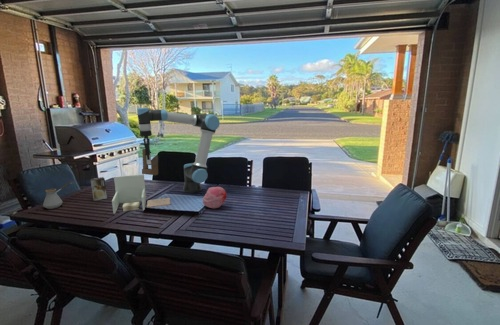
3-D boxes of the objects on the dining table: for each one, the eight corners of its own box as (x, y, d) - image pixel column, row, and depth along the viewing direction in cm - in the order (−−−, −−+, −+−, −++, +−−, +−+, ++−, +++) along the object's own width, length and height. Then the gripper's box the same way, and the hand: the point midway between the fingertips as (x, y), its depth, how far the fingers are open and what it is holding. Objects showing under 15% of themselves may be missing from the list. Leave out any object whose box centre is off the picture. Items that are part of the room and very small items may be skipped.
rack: (146, 199, 206) (143, 174, 202) (145, 209, 186) (142, 181, 182) (117, 203, 200) (114, 176, 196) (112, 213, 179) (109, 184, 175)
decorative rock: (233, 197, 192) (222, 179, 193) (229, 201, 178) (216, 182, 179) (212, 210, 196) (201, 193, 196) (206, 216, 182) (194, 197, 182)
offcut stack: (140, 206, 194) (139, 201, 193) (140, 209, 187) (139, 204, 186) (123, 208, 190) (122, 203, 189) (122, 212, 183) (122, 207, 182)
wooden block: (155, 175, 191) (155, 150, 187) (141, 174, 192) (140, 149, 188) (158, 174, 194) (158, 149, 190) (144, 172, 196) (143, 148, 192)
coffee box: (106, 196, 215) (103, 176, 212) (107, 198, 210) (105, 178, 207) (93, 198, 210) (90, 178, 207) (94, 200, 205) (91, 180, 202)
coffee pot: (50, 211, 186) (47, 190, 183) (39, 208, 190) (36, 188, 187) (79, 201, 205) (76, 181, 202) (69, 199, 210) (66, 180, 207)
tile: (169, 198, 208) (169, 197, 207) (170, 204, 195) (170, 203, 194) (147, 201, 203) (147, 200, 202) (146, 207, 190) (146, 206, 189)
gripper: (140, 129, 194) (144, 161, 199) (138, 131, 177) (142, 166, 182) (151, 128, 196) (155, 160, 201) (150, 131, 179) (154, 165, 184)
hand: (149, 163), depth 191 cm, fingers open, 5 cm apart
